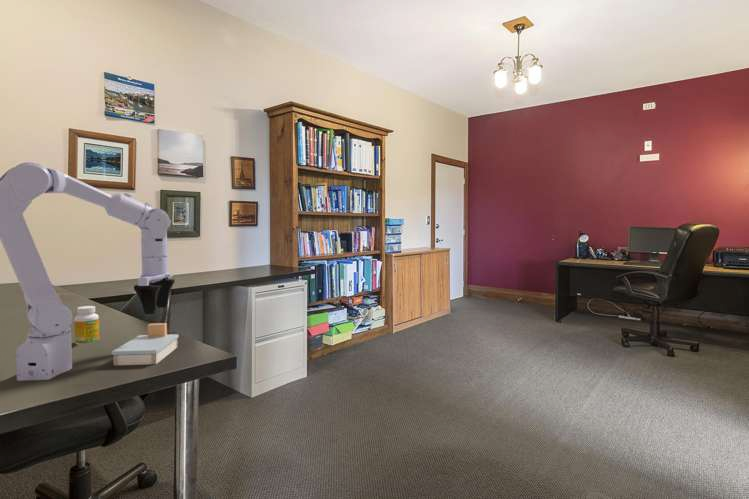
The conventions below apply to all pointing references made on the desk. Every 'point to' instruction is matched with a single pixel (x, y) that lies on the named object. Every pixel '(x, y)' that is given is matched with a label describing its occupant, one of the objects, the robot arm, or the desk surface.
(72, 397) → the desk surface
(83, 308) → the supplement bottle
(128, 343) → the lid
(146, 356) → the tub
